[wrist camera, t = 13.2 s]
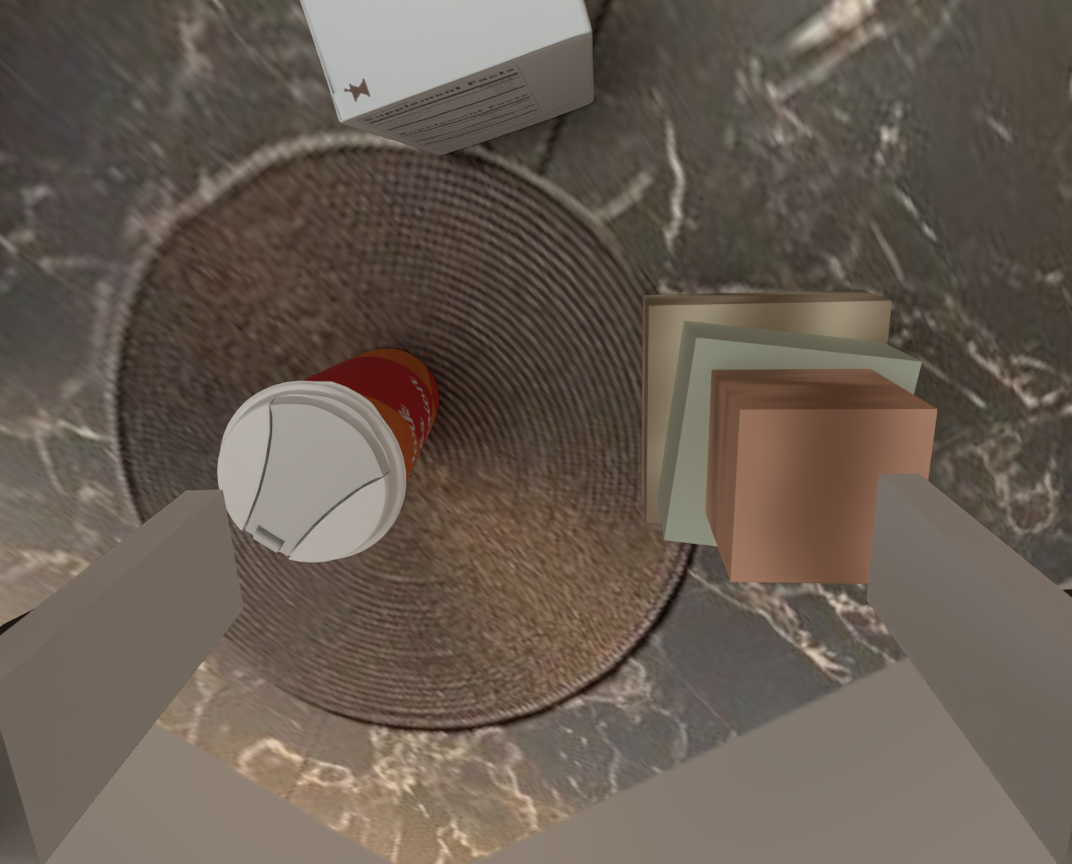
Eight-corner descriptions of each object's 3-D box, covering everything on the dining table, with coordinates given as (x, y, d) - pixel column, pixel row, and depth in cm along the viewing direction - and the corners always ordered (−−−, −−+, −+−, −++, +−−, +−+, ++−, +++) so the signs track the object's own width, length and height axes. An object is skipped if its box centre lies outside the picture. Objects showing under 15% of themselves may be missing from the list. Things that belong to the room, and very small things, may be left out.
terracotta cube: (705, 513, 37) (730, 581, 30) (711, 369, 35) (740, 409, 28) (855, 514, 36) (914, 584, 30) (870, 368, 34) (937, 408, 28)
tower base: (640, 490, 47) (646, 523, 43) (642, 294, 44) (648, 305, 39) (841, 490, 47) (869, 523, 42) (858, 289, 43) (891, 300, 38)
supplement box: (598, 104, 41) (601, 43, 25) (436, 160, 42) (340, 137, 26) (544, -93, 38) (509, -303, 22) (374, -26, 40) (226, -178, 24)
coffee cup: (414, 485, 48) (338, 607, 34) (300, 413, 47) (172, 507, 33) (486, 376, 46) (437, 458, 31) (366, 298, 45) (260, 346, 30)
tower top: (655, 501, 42) (664, 539, 38) (683, 320, 39) (696, 337, 35) (839, 522, 42) (871, 564, 37) (881, 341, 39) (922, 361, 34)
